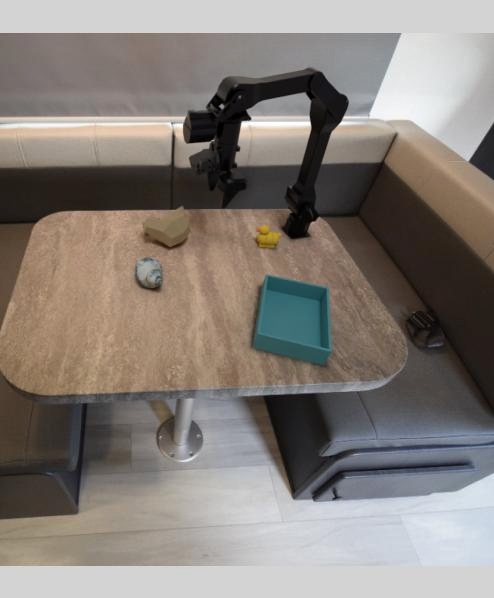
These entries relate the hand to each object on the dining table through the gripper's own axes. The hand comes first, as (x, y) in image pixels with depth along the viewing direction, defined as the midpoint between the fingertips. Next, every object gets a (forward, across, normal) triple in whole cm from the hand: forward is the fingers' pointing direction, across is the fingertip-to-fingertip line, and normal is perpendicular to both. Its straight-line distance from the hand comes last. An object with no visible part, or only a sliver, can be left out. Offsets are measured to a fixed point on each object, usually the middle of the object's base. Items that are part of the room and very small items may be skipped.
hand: (217, 199), depth 95 cm
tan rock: (+15, -4, -13) cm, 20 cm away
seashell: (+15, +12, -22) cm, 29 cm away
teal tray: (+15, +34, +8) cm, 38 cm away
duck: (+15, +4, +16) cm, 22 cm away
